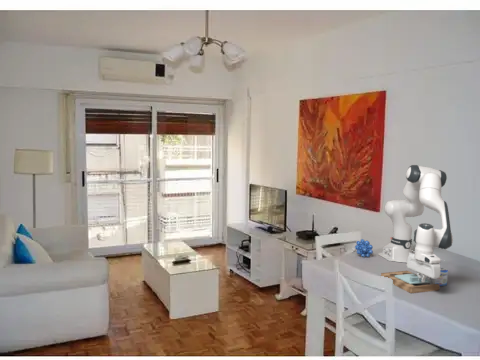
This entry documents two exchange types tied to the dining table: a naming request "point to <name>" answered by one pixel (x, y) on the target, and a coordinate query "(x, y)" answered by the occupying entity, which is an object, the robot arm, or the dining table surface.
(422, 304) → the dining table surface
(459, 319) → the dining table surface
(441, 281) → the medicine box
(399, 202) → the robot arm
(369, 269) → the dining table surface
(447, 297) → the dining table surface
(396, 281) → the puzzle board
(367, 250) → the grapes
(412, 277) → the lid
